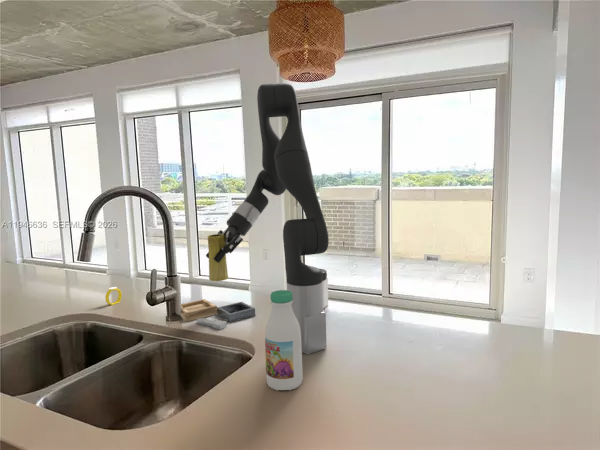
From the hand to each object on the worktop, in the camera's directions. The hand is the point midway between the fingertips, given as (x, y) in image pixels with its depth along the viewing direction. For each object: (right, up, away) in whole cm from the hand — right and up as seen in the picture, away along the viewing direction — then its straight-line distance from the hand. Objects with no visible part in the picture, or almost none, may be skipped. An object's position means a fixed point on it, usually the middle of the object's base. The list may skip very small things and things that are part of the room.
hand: (212, 259), depth 130 cm
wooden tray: (-6, -18, +4) cm, 20 cm away
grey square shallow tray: (+8, -18, +1) cm, 20 cm away
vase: (+2, -7, +2) cm, 7 cm away
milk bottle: (+25, -23, -42) cm, 54 cm away
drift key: (+1, -19, -7) cm, 20 cm away
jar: (+33, -17, +8) cm, 38 cm away
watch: (-39, -18, +17) cm, 46 cm away
